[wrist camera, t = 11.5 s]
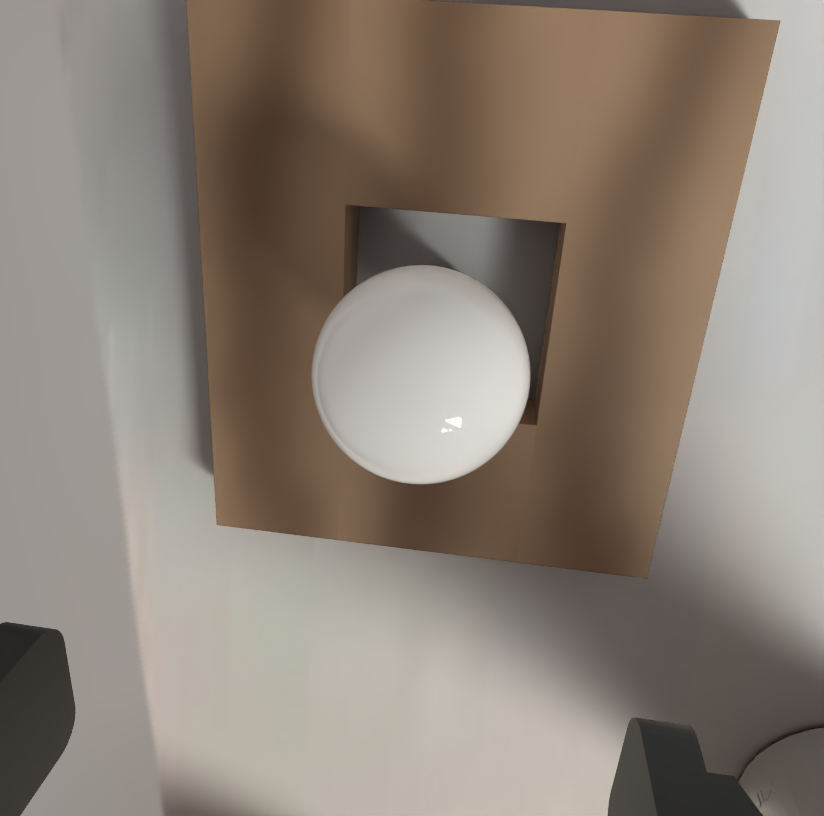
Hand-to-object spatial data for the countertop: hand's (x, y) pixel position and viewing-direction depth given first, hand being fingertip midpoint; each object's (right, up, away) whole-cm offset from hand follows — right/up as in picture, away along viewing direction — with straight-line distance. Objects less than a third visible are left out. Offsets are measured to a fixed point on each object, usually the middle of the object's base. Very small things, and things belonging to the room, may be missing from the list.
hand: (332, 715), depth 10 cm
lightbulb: (+2, +9, +18) cm, 20 cm away
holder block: (+3, +8, +18) cm, 20 cm away
